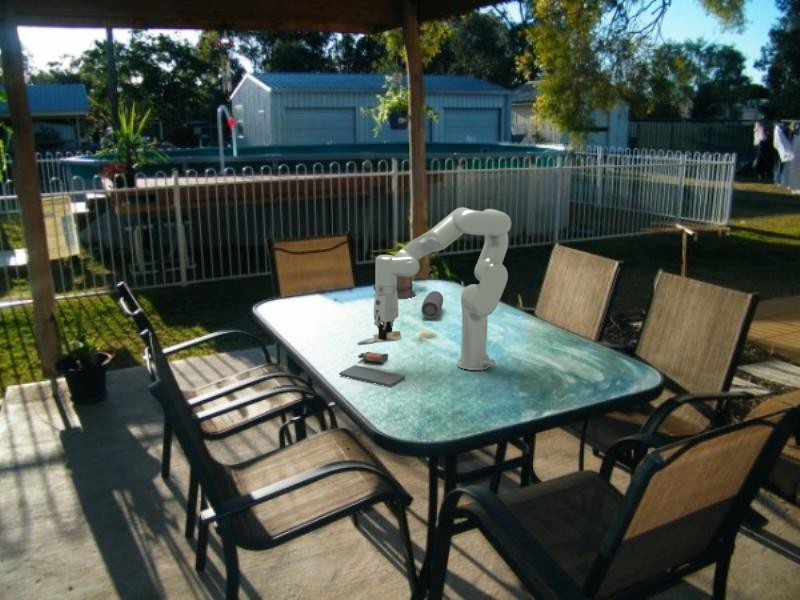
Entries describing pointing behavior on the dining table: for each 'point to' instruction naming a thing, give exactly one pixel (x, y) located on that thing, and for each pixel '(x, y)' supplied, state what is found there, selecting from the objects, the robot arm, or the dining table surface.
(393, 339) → the turner
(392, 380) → the mat
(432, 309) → the bluetooth speaker
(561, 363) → the dining table surface
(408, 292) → the tankard
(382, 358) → the lighter
